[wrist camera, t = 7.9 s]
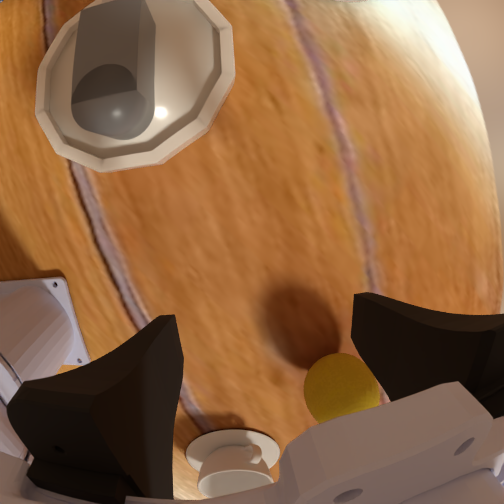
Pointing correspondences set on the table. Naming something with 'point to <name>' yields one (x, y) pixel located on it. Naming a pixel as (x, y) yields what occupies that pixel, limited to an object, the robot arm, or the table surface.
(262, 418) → the table surface
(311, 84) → the table surface
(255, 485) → the teacup
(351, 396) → the lemon
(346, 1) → the lid
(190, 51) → the plate
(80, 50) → the connector
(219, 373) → the table surface
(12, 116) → the table surface
